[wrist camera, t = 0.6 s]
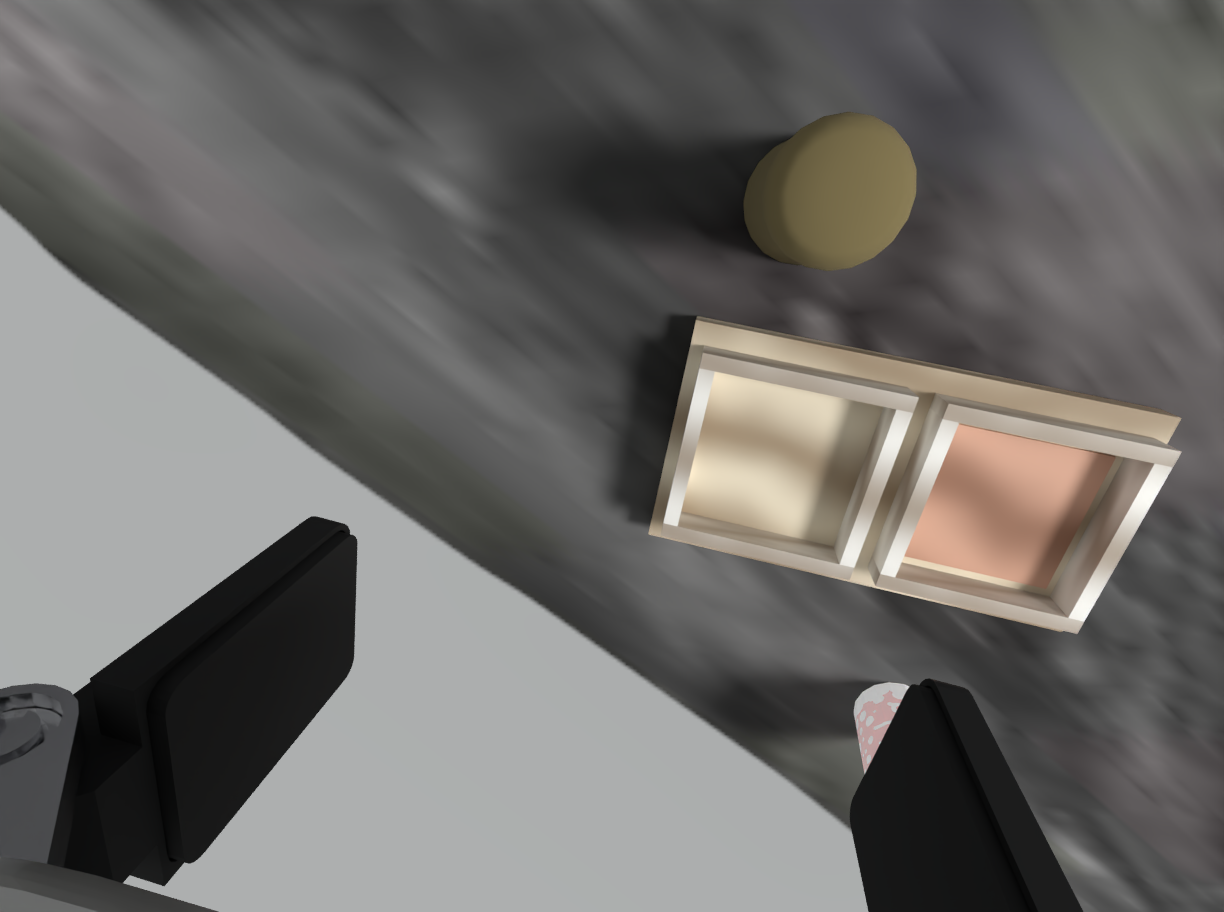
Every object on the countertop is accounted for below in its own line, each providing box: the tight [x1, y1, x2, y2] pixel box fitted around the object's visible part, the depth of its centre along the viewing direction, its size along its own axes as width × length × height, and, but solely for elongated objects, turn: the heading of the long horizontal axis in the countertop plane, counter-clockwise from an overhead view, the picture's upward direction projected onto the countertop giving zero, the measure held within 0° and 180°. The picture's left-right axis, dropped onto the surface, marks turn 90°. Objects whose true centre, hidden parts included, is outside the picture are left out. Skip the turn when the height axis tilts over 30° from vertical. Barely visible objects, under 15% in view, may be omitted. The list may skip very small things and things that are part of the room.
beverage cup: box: [854, 682, 909, 773], centre depth 34 cm, size 6×6×14 cm
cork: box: [743, 112, 916, 271], centre depth 26 cm, size 6×6×11 cm
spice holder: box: [648, 316, 1181, 634], centre depth 33 cm, size 13×24×4 cm, turn 80°
